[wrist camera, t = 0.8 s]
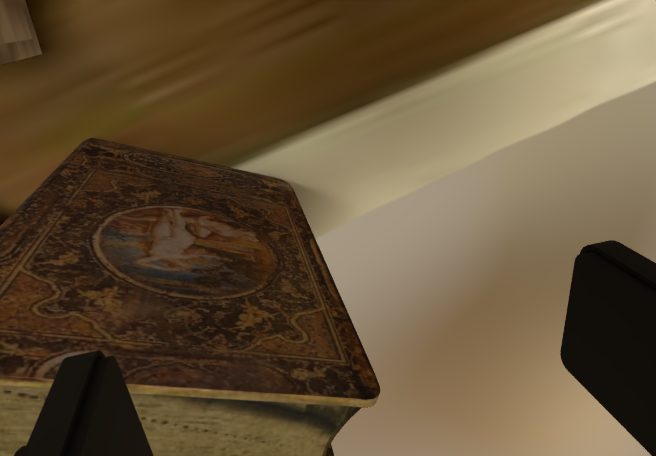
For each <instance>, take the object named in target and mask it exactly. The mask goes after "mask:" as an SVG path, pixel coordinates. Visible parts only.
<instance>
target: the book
mask: <svg viewBox="0 0 656 456" xmlns="http://www.w3.org/2000/svg"><path fill="white" fill-rule="evenodd" d="M97 350H99V351H102V352H103V354H104V355H105V357H108V356H114V357H115V358H116V360H117V362H118V365H119V367H120V370H121V373H122V375H123V378H124V380H125V383H126V386H127V388H128V391H129V393H130V396H131V398H132V401H133V404H134V406H135V409H136V411H137V414H138V417H139V419H140V422H141V424H142V427H143V429H144V432H145V435H146V437H147V440H148V442H149V445H150V448H151V450H152V453H153V456H334V453H333V450H332V446H331V442H332V440H333V439H334V437H335V436H336V434H337V433H338V432H339V431H340V429H341V428H342V427H343V426H344V424H346V422H347V421H348V420H349V419H350V418H351V417H352V416H353V415H354V414H355V413H356V412H357V411H358V410H360V409H361V408H362V407H364V408H365V407H371V406H373V405H374V404H375V403H376V401H377V399H378V396H379V394H380V386H379V383H378V381H377V378H376V376H375V373H374V371H373V369H372V366H371V364H370V362H369V359H368V357H367V355H366V353H365V350H364V348H363V346H362V344H361V341H360V339H359V337H358V335H357V332H356V330H355V328H354V326H353V323H352V321H351V319H350V317H349V314H348V312H347V310H346V308H345V305H344V303H343V301H342V299H341V296H340V294H339V292H338V290H337V287H336V285H335V283H334V280H333V278H332V276H331V274H330V271H329V269H328V267H327V264H326V262H325V260H324V258H323V255H322V253H321V251H320V249H319V246H318V244H317V242H316V240H315V237H314V235H313V233H312V231H311V228H310V226H309V224H308V222H307V219H306V217H305V215H304V213H303V210H302V208H301V206H300V203H299V201H298V199H297V197H296V194H295V192H294V190H293V188H292V187H291V186H290V184H288V183H287V182H285V181H283V180H281V179H277V178H272V177H268V176H264V175H259V174H255V173H251V172H246V171H242V170H237V169H232V168H228V167H223V166H219V165H214V164H209V163H205V162H200V161H195V160H191V159H186V158H181V157H177V156H172V155H168V154H163V153H158V152H154V151H149V150H144V149H140V148H135V147H131V146H126V145H121V144H117V143H112V142H107V141H103V140H98V139H93V138H90V139H88V140H86V141H84V142H82V143H81V144H80V145H79V146H78V147H77V148H76V149H75V150H74V151H73V152H72V153H71V154H70V155H69V156H68V157H67V158H66V159H65V160H64V161H63V162H62V163H61V164H60V166H59V167H58V168H57V169H56V170H55V171H54V172H53V173H52V174H51V175H50V176H49V177H48V178H47V179H46V180H45V181H44V182H43V183H42V184H41V185H40V186H39V187H38V188H37V189H36V190H35V191H34V192H33V193H32V194H31V195H30V196H29V197H28V198H27V199H26V200H25V201H24V202H23V203H22V204H21V206H20V207H19V208H18V209H17V210H16V211H15V212H14V213H13V214H12V215H11V216H10V217H9V218H8V219H7V220H6V221H5V222H4V223H3V224H2V225H1V226H0V456H14V454H15V453H16V451H17V450H18V449H20V448H21V447H22V446H26V445H27V443H28V440H29V438H30V436H31V433H32V431H33V428H34V426H35V424H36V421H37V419H38V417H39V414H40V412H41V410H42V407H43V405H44V402H45V400H46V398H47V395H48V393H49V391H50V388H51V386H52V384H53V381H54V379H55V377H56V374H57V372H58V369H59V367H60V365H61V363H62V361H63V359H64V358H66V357H69V356H74V355H79V354H83V353H88V352H93V351H97Z"/></svg>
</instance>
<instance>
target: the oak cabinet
mask: <svg viewBox="0 0 656 456" xmlns="http://www.w3.org/2000/svg"><path fill="white" fill-rule="evenodd" d="M41 54H42V51H41V48H40V45H39V42H38V39H37V35H36V32H35V29H34V26H33V23H32V20H31V16H30V13H29V10H28V7H27V4H26V1H25V0H0V65H3V64H7V63H10V62H14V61H18V60H22V59H26V58H30V57H33V56H37V55H41Z"/></svg>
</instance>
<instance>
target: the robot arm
mask: <svg viewBox="0 0 656 456" xmlns="http://www.w3.org/2000/svg"><path fill="white" fill-rule="evenodd" d="M561 359H562V362H563V364H564V366H565V368H566V369H567V370H568V371H569V372H570V373H571V374H572V375H573V376H574V377H575V378H576V379H577V380H578V381H579V382H580V383H581V384H582V385H583V386H584V387H585V388H586V389H587V390H588V392H589V393H590V394H592V396H594V398H595V399H596V400H597V401H598V402H599V403H600V404H601V405H602V406H603V407H604V408H605V409H606V410H607V411H608V412H609V413H610V414H611V415H612V416H613V417H614V418H615V419H616V420H617V421H618V422H619V423H620V424H621V425H622V426H623V427H624V428H625V429H626V430H627V431H628V432H629V433H630V434H631V435H632V436H633V437H634V438H635V439H636V440H637V441H638V442H639V443H640V444H641V445H642V446H643V447H644V448H645V449H646V450H647V451H648V452H649V453H650V454H651V455H652V456H656V263H654V262H653V261H651V260H649V259H647V258H646V257H644V256H642V255H640V254H639V253H637V252H635V251H633V250H631V249H630V248H628V247H626V246H624V245H623V244H621V243H619V242H616V241H606V242H601V243H596V244H591V245H587V246H585V247H583V249H582V250H581V252H580V254H579V255H578V256H577V257H576V259H575V263H574V269H573V276H572V282H571V289H570V296H569V302H568V308H567V314H566V320H565V327H564V333H563V339H562V346H561ZM14 456H153V453H152V450H151V448H150V445H149V442H148V440H147V437H146V435H145V432H144V429H143V427H142V424H141V422H140V419H139V417H138V414H137V411H136V409H135V406H134V404H133V401H132V398H131V396H130V393H129V391H128V388H127V386H126V383H125V380H124V378H123V375H122V373H121V370H120V367H119V365H118V362H117V360H116V358H115V357H114V356H108V357H105V355H104V354H103V352H102V351H99V350H97V351H93V352H88V353H83V354H79V355H74V356H69V357H66V358H64V359H63V361H62V363H61V365H60V367H59V369H58V372H57V374H56V377H55V379H54V381H53V384H52V386H51V388H50V391H49V393H48V395H47V398H46V400H45V402H44V405H43V407H42V410H41V412H40V414H39V417H38V419H37V421H36V424H35V426H34V428H33V431H32V433H31V436H30V438H29V440H28V443H27V445H26V446H22V447H21V448H20V449H18V450H17V451H16V453H15V454H14Z"/></svg>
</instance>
